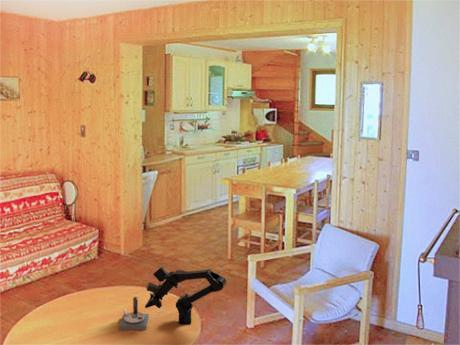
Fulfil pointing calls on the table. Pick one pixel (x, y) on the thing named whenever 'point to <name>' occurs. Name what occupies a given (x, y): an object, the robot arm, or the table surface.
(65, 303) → the table surface
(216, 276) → the robot arm
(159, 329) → the table surface
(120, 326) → the post base
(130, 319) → the grey round part
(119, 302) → the table surface
